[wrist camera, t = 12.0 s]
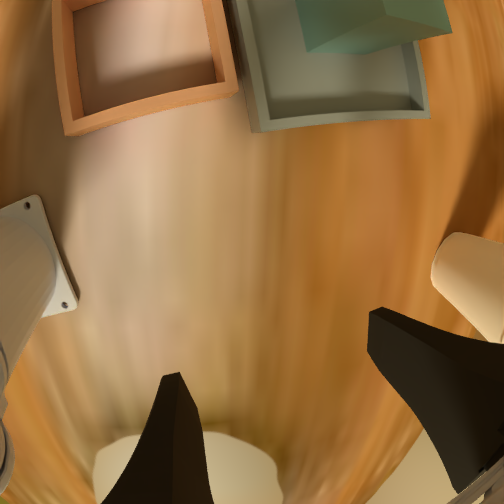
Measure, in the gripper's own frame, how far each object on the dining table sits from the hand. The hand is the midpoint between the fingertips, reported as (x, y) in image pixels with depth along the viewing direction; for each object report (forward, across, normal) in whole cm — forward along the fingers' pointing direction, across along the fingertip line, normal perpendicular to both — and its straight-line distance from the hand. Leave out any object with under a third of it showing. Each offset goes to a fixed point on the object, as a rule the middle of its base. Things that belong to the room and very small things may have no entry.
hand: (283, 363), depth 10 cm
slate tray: (+10, -9, -14) cm, 20 cm away
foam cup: (+11, -21, +7) cm, 25 cm away
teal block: (+10, -9, -14) cm, 20 cm away
